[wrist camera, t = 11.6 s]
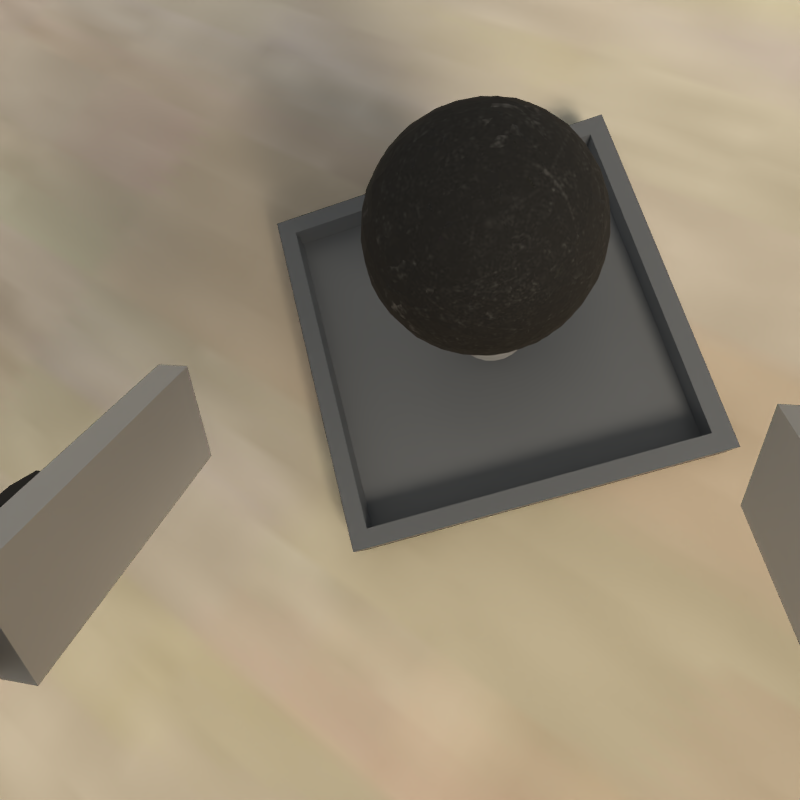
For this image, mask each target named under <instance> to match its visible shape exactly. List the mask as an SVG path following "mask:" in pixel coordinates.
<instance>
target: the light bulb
mask: <svg viewBox="0 0 800 800" xmlns="http://www.w3.org/2000/svg"><path fill="white" fill-rule="evenodd" d="M610 219H611V218H610V205H609V195H608V191H607V188H606V185H605V182H604V179H603V175H602V172H601V169H600V167H599V165H598V164H597V162H596V160H595V159H594V157H593V155H592V153H591V152H590V150H589V148H588V147H587V145H586V143H585V142H584V141H583V140H582V139H581V138H580V137H579V135H578V134H577V133H576V132H575V131H574V130H573V129H572V128H571V127H570V126H569V125H568V124H567V123H565V122H564V121H562V120H561V119H559V118H558V117H556V116H555V115H553V114H552V113H550V112H549V111H547V110H546V109H543V108H541V107H539V106H537V105H534V104H532V103H530V102H526V101H523V100H520V99H517V98H509V97H500V96H491V97H490V96H479V97H474V98H468V99H463V100H458V101H454V102H452V103H449V104H447V105H444V106H441V107H439V108H436V109H434V110H433V111H431V112H429V113H428V114H426V115H425V116H423V117H421V118H420V119H418V120H417V121H415V122H413V123H412V124H410V125H409V126H408V127H407V128H406V129H405V130H404V131H403V132H402V133H401V134H400V135H399V136H398V137H397V138H396V139H395V140H394V142H393V143H392V144H391V145H390V146H389V147H388V149H387V150H386V152H385V154H384V155H383V157H382V158H381V160H380V162H379V163H378V165H377V167H376V169H375V171H374V173H373V175H372V178H371V180H370V182H369V184H368V187H367V189H366V194H365V198H364V202H363V206H362V217H361V244H362V250H363V255H364V260H365V265H366V268H367V272H368V275H369V278H370V281H371V284H372V286H373V288H374V290H375V292H376V294H377V296H378V298H379V299H380V301H381V302H382V303H383V305H384V306H385V307H386V309H387V310H388V311H389V313H390V314H391V315H392V316H393V317H394V318H395V319H397V320H398V321H399V322H400V323H401V324H402V325H403V326H404V327H405V328H406V329H408V330H409V331H410V332H411V333H412V334H413V335H415V336H416V337H417V338H419V339H421V340H423V341H425V342H427V343H429V344H431V345H433V346H436V347H438V348H440V349H442V350H447V351H450V352H454V353H459V354H463V355H472V356H473V357H475V358H478V359H482V360H485V361H496V360H500V359H504V358H506V357H508V356H510V355H512V354H513V353H514V352H516V351H517V350H518V349H521V348H524V347H526V346H529V345H532V344H535V343H537V342H539V341H540V340H542V339H543V338H545V337H548V336H549V335H550V334H551V333H552V332H554V331H555V330H557V329H558V328H560V327H561V326H562V325H563V324H564V323H565V322H566V321H567V320H568V319H570V318H571V316H572V315H573V314H574V313H575V312H576V311H577V310H578V309H579V307H580V306H581V305H582V304H583V302H584V301H585V299H586V297H587V296H588V294H589V293H590V291H591V290H592V288H593V286H594V285H595V283H596V282H597V280H598V278H599V275H600V272H601V270H602V267H603V264H604V261H605V257H606V253H607V248H608V243H609V238H610Z"/></svg>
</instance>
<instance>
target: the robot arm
mask: <svg viewBox="0 0 800 800" xmlns="http://www.w3.org/2000/svg"><path fill="white" fill-rule="evenodd" d="M210 457H211V452H210V448H209V445H208V441H207V437H206V434H205V430H204V426H203V423H202V419H201V415H200V412H199V408H198V404H197V401H196V397H195V393H194V390H193V386H192V382H191V379H190V375H189V371H188V368H187V366H175V365H160V364H159V365H158V366H157V367H156V368H154V369H153V370H152V371H151V372H150V373H149V374H148V375H147V376H146V377H144V378H143V379H142V380H141V381H140V382H139V383H138V384H137V385H136V386H134V387H133V388H132V389H131V390H130V391H129V392H128V393H127V394H126V395H124V396H123V397H122V398H121V399H120V400H119V401H118V402H117V403H116V404H115V405H113V406H112V407H111V408H110V409H109V410H108V411H107V412H106V413H105V414H103V415H102V416H101V417H100V418H99V419H98V420H97V421H96V422H95V423H93V424H92V425H91V426H90V427H89V428H88V429H87V430H86V431H85V432H84V433H82V434H81V435H80V436H79V437H78V438H77V439H76V440H75V441H74V442H72V443H71V444H70V445H69V446H68V447H67V448H66V449H65V450H64V451H62V452H61V453H60V454H59V455H58V456H57V457H56V458H55V459H54V460H52V461H51V462H50V463H49V464H48V465H47V466H46V467H45V468H44V469H43V470H41V471H35V472H33V473H31V474H30V475H28V476H26V477H24V478H22V479H21V480H19V481H17V482H15V483H14V484H12V485H10V486H9V487H8V488H7V489H5V490H4V491H3V492H2V493H1V494H0V678H1V679H3V680H9V681H14V682H20V683H25V684H31V685H36V686H38V685H39V684H40V683H41V681H42V680H43V679H44V677H45V676H46V675H47V673H48V672H49V671H50V669H51V668H52V667H53V665H54V664H55V663H56V661H57V660H58V659H59V657H60V656H61V655H62V653H63V652H64V651H65V649H66V648H67V647H68V645H69V644H70V643H71V641H72V640H73V639H74V637H75V636H76V635H77V633H78V632H79V631H80V630H81V628H82V627H83V626H84V624H85V623H86V622H87V620H88V619H89V618H90V616H91V615H92V614H93V612H94V611H95V610H96V608H97V607H98V606H99V604H100V603H101V602H102V600H103V599H104V598H105V596H106V595H107V594H108V592H109V591H110V590H111V588H112V587H113V586H114V584H115V583H116V582H117V580H118V579H119V578H120V576H121V575H122V574H123V572H124V571H125V570H126V568H127V567H128V566H129V564H130V563H131V562H132V560H133V559H134V558H135V556H136V555H137V554H138V552H139V551H140V550H141V548H142V547H143V546H144V544H145V543H146V542H147V541H148V539H149V538H150V537H151V535H152V534H153V533H154V531H155V530H156V529H157V527H158V526H159V525H160V523H161V522H162V521H163V519H164V518H165V517H166V515H167V514H168V513H169V511H170V510H171V509H172V507H173V506H174V505H175V503H176V502H177V501H178V499H179V498H180V497H181V495H182V494H183V493H184V491H185V490H186V489H187V487H188V486H189V485H190V483H191V482H192V481H193V479H194V478H195V477H196V475H197V474H198V473H199V471H200V470H201V469H202V467H203V466H204V465H205V463H206V462H207V461H208V459H209V458H210ZM741 507H742V510H743V512H744V514H745V517H746V519H747V521H748V524H749V526H750V528H751V531H752V533H753V536H754V538H755V540H756V543H757V545H758V547H759V550H760V552H761V555H762V557H763V559H764V562H765V564H766V566H767V569H768V571H769V573H770V576H771V578H772V581H773V583H774V585H775V588H776V590H777V592H778V595H779V597H780V599H781V602H782V604H783V607H784V609H785V611H786V614H787V616H788V618H789V621H790V623H791V625H792V628H793V630H794V633H795V635H796V637H797V640H798V642H799V644H800V405H787V404H777V407H776V410H775V412H774V415H773V418H772V421H771V423H770V426H769V429H768V432H767V434H766V437H765V440H764V443H763V445H762V448H761V451H760V454H759V456H758V459H757V462H756V465H755V467H754V470H753V473H752V476H751V479H750V481H749V484H748V487H747V490H746V492H745V495H744V498H743V501H742V503H741Z"/></svg>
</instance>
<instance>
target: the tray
mask: <svg viewBox="0 0 800 800" xmlns="http://www.w3.org/2000/svg"><path fill="white" fill-rule="evenodd" d="M569 126H570V127H571V128H572V129H573V130H574V131H575V132H576V133H577V134H578V135H579V137H580V138H581V139H582V140H583V141H584V142H585V143H586V145H587V147H588V148H589V150H590V152H591V153H592V155H593V157H594V159H595V160H596V162H597V164H598V165H599V167H600V169H601V172H602V175H603V179H604V182H605V185H606V188H607V191H608V195H609V205H610V218H611V219H610V238H609V243H608V248H607V253H606V257H605V261H604V264H603V267H602V270H601V272H600V275H599V278H598V280H597V282H596V283H595V285H594V286H593V288H592V290H591V291H590V293H589V294H588V296H587V297H586V299H585V301H584V302H583V304H582V305H581V306H580V307H579V309H578V310H577V311H576V312H575V313H574V314H573V315H572V316H571V318H570V319H568V320H567V321H566V322H565V323H564V324H563V325H562V326H561V327H560V328H558V329H557V330H555V331H554V332H552V333H551V334H550V335H549V336H548V337H545V338H543V339H542V340H540V341H539V342H537V343H535V344H532V345H529V346H526V347H524V348H521V349H518V350H517V351H516V352H514V353H513V354H512V355H510V356H508V357H506V358H504V359H500V360H496V361H485V360H482V359H478V358H475V357H473V356H472V355H463V354H459V353H454V352H450V351H447V350H442V349H440V348H438V347H436V346H433V345H431V344H429V343H427V342H425V341H423V340H421V339H419V338H417V337H416V336H415V335H413V334H412V333H411V332H410V331H409V330H408V329H406V328H405V327H404V326H403V325H402V324H401V323H400V322H399V321H398V320H397V319H395V318H394V317H393V316H392V315H391V314H390V313H389V311H388V310H387V309H386V307H385V306H384V305H383V303H382V302H381V301H380V299H379V298H378V296H377V294H376V292H375V290H374V288H373V286H372V284H371V281H370V278H369V275H368V272H367V268H366V265H365V260H364V255H363V250H362V244H361V217H362V206H363V202H364V198H365V194H364V195H361V196H358V197H355V198H353V199H350V200H347V201H344V202H341V203H338V204H335V205H332V206H329V207H326V208H323V209H320V210H317V211H314V212H311V213H308V214H305V215H302V216H299V217H296V218H293V219H290V220H287V221H284V222H281V223H278V224H277V225H278V229H279V233H280V238H281V242H282V246H283V251H284V255H285V259H286V264H287V268H288V272H289V277H290V281H291V285H292V290H293V294H294V298H295V302H296V307H297V311H298V315H299V320H300V324H301V328H302V333H303V337H304V341H305V346H306V350H307V354H308V359H309V363H310V367H311V372H312V376H313V380H314V385H315V389H316V393H317V397H318V402H319V406H320V410H321V415H322V419H323V423H324V428H325V432H326V436H327V441H328V445H329V449H330V454H331V458H332V462H333V467H334V471H335V475H336V479H337V484H338V488H339V492H340V497H341V501H342V505H343V510H344V514H345V518H346V523H347V527H348V531H349V536H350V540H351V544H352V549H353V552H357V551H363V550H367V549H371V548H375V547H378V546H382V545H386V544H389V543H393V542H397V541H400V540H404V539H408V538H411V537H415V536H419V535H422V534H426V533H430V532H433V531H437V530H441V529H444V528H448V527H452V526H455V525H459V524H463V523H466V522H470V521H474V520H477V519H481V518H485V517H488V516H492V515H496V514H499V513H503V512H507V511H510V510H514V509H518V508H521V507H525V506H529V505H532V504H536V503H540V502H543V501H547V500H551V499H554V498H558V497H562V496H565V495H569V494H573V493H577V492H580V491H584V490H588V489H591V488H595V487H599V486H602V485H606V484H610V483H613V482H617V481H621V480H624V479H628V478H632V477H635V476H639V475H643V474H646V473H650V472H654V471H657V470H661V469H665V468H668V467H672V466H676V465H679V464H683V463H687V462H690V461H694V460H698V459H701V458H705V457H709V456H712V455H716V454H720V453H723V452H726V451H729V450H732V449H735V448H737V447H740V445H739V443H738V440H737V438H736V435H735V433H734V431H733V428H732V426H731V424H730V421H729V419H728V416H727V414H726V412H725V409H724V407H723V404H722V402H721V400H720V397H719V395H718V392H717V390H716V388H715V385H714V383H713V380H712V378H711V376H710V373H709V371H708V368H707V366H706V364H705V361H704V359H703V356H702V354H701V352H700V349H699V347H698V344H697V342H696V340H695V337H694V335H693V332H692V330H691V328H690V325H689V323H688V320H687V318H686V316H685V313H684V311H683V308H682V306H681V304H680V301H679V299H678V296H677V294H676V292H675V289H674V287H673V285H672V282H671V280H670V277H669V275H668V273H667V270H666V268H665V265H664V263H663V261H662V258H661V256H660V253H659V251H658V249H657V246H656V244H655V241H654V239H653V237H652V234H651V232H650V229H649V227H648V225H647V222H646V220H645V217H644V215H643V213H642V210H641V208H640V205H639V203H638V201H637V198H636V196H635V193H634V191H633V189H632V186H631V184H630V181H629V179H628V177H627V174H626V172H625V169H624V167H623V165H622V162H621V160H620V157H619V155H618V153H617V150H616V148H615V145H614V143H613V141H612V138H611V136H610V134H609V131H608V129H607V126H606V124H605V122H604V119H603V117H602V115H599V116H596V117H593V118H590V119H587V120H584V121H581V122H578V123H575V124H572V125H569Z"/></svg>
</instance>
